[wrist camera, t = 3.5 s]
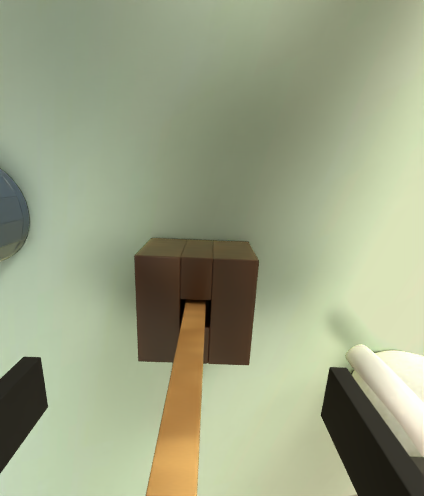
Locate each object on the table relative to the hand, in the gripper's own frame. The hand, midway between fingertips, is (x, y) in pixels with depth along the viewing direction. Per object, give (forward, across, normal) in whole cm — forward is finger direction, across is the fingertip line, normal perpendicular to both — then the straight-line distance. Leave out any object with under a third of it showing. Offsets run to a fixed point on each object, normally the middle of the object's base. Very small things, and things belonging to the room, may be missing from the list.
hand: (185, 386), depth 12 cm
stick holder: (+11, 0, 0) cm, 11 cm away
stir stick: (+11, 0, 0) cm, 11 cm away
